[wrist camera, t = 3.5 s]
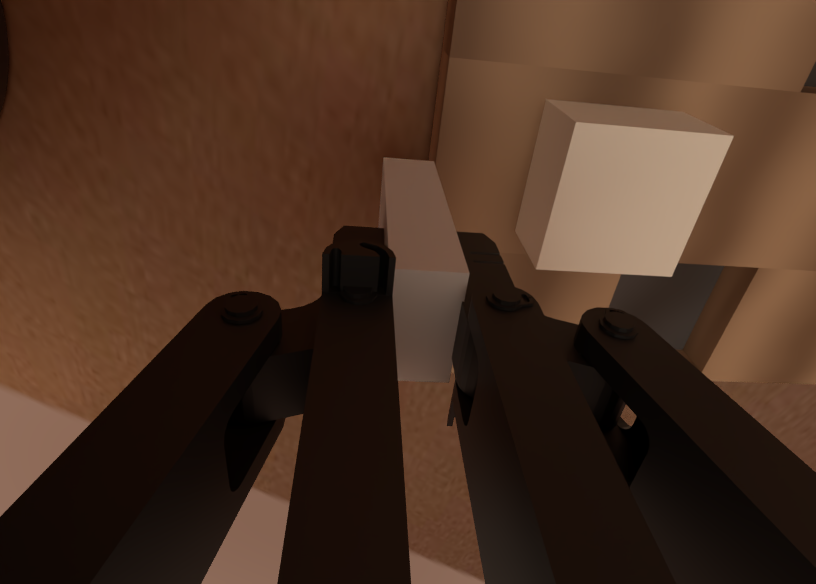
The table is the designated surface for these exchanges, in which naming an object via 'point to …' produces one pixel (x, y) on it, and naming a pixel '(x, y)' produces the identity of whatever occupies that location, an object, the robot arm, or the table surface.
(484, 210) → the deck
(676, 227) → the block
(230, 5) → the table surface
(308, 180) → the table surface
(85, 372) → the table surface
